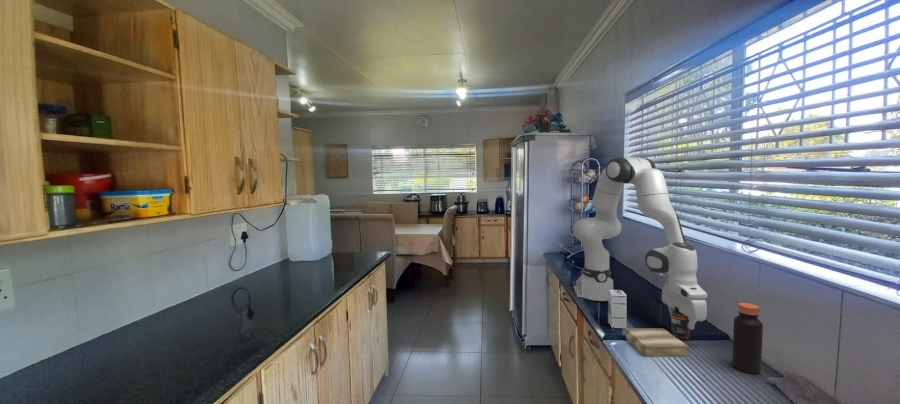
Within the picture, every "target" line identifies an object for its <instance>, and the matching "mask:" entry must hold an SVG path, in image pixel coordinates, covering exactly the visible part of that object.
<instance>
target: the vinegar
mask: <svg viewBox="0 0 900 404" xmlns="http://www.w3.org/2000/svg"><path fill="white" fill-rule="evenodd" d="M737 311H738V314H739V315H737V316H736V317H734V318H733V335H732V336H733V337H732V361H731V364H732V366H733V367H734V368H735V370H738V371H740V372H743V373H747V374H753V375H757V374H760V373H761V372H762V353H763V352H762V351H763V333H764V332H763V330H764V329H763V328H764V324H763V322H762V321H761V320H760V319H759V318H758V317H759V315H760V307H759V306H758V305H756V304H753V303H748V302H740V303H737Z"/></svg>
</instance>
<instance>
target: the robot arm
mask: <svg viewBox="0 0 900 404" xmlns="http://www.w3.org/2000/svg"><path fill="white" fill-rule="evenodd" d="M653 161H654V160H653ZM653 161H652V160H651V159H649V158H647V157H639V156H628V157H627V156H626V157H624V156H623V157H622V156H620V157H615V158H612V159H611V160H609V161H608V162H607V164H606V167H605V168H604V169H603V170H602V172H601V173H600V176H599V178H598V180H597V183H596V186H595V189H594V193H593V197H592V201H591V205H592V207H593V208H594V209H595V216H594V217H593V216H592V217H584V218H581V219H579V220H577V221H575V223H574V224H573V227H572V228H573V229H572V231H573V234H574V236H575V238H577V240H578V241H580V243H581V245H582V248H583V251H584V266H583V270H582V274H581V275H580V276H579V277H577V279H576V280H575V285H573V291H574V293H575V295H576V297H578V298H583V299H586V300H590V301H599V302H608V290H614V279H612V278H611V272H612V271H611V268H610V258H611V257H610V252H609V250H607V249H606V248H605V246H604V245H603V240H608V239H613V238H615V237H617V236H618V235H620V233H621V232H622V223H621V221H620V220H619V219H618V214H617V213H618V206H619V201H620V198H621V195H622V192H623V188H624V185H626V184H629V183H630V184H632V185H634V188H635V191H636V192H635V193H636V200H637V201H636V202H637V206H638V209H639V211H640V212H641V213H642V215H644V216H645V217H647V218H650V219H651V220H655V221H656V222H658V223H659V224H660V225H662V226H661V227H662V228H663V230H664V234H665V238H666V241H667V246H664V247H663V246H662V247H658V248H652V249H650V250H648V251H647V252H646V254H645V256H644V262H645V265H646V267H647V269H648V270H649V271H650V272H653V273H655V274H666V275H667V276H668V279H667V280H666V281H665V282H664V285H663V286H662V291H661V301H662V303H663V304H665V305H666V306H668V311H669V314H670V318H671V316H672V311H674V310H675V306H676V307H678V308H679V312H681V313H682V314H684V315H686V316H688V317H689V320H690V321H689V323H687V328H689V329H690V330H695V325H696V323H697V322H704V321H705V320H706V319H707V316H708V315H707V314H708V312H707V311H708V306H707V305H708V304H707V300H706V299H708V293H707V292H706V291H705V290H704V289H703V288H702V287H701V286H700V285H699V284H698V278H697V271H698V254H697V250H696V248H695V247H694V246H693V245H691V244H689V243H687V242H686V239H685V235H684V232H683V228H682V224H681V222H680V221H681V220H680V218H679V215H678V212H677V211H676V210H675V209H674V207H673V205H672V203H671V200H670V197H669V196H670V195H669V190H668V186H667V182H666V179H665V177H664V174H663V171H661V170H660V169H658V168H656V167H657V166H656V164H655V162H653Z"/></svg>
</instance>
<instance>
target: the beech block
mask: <svg viewBox="0 0 900 404" xmlns="http://www.w3.org/2000/svg"><path fill="white" fill-rule="evenodd" d="M624 331H625V335H624V336H626V338H625V339H626V340H627V341H628V342H629V343H630V344H632V346H634V347H635V348H636V349H637V350H638V351H639V352H640V353H641V354H642V355H643V356H644V357H645V358H689V356H690V355H689V354H690V353H689V352H690V351H689V350H690V346H689V345H688V344H686V343H685V342H683V341H682V340H681V339H680V338H676V337H675V336H673V335H672V334H671V333H670V331H668V330H667V329H665V328H664V327H663V328H660V327H659V328H656V327H655V328H652V327H650V328H646V327H645V328H639V327H638V328H637V327H635V328H633V327H632V328H631V327H630V328H628V327H626V329H625V330H624Z"/></svg>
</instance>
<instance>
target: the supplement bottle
mask: <svg viewBox="0 0 900 404" xmlns="http://www.w3.org/2000/svg"><path fill="white" fill-rule="evenodd" d="M670 318H671V329H670V330H671V333H672V334H673V335H675V336H676V337H677V338H678V339H679V340H681V339H682V340H688V339H690V337H691V329H689V328H687V323H689V321H690V320H689V317H688V316H686V315H684V314H682V313H681V312H679V308H678V307H676V306H675V310H674V311H672V316H671V317H670Z"/></svg>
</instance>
